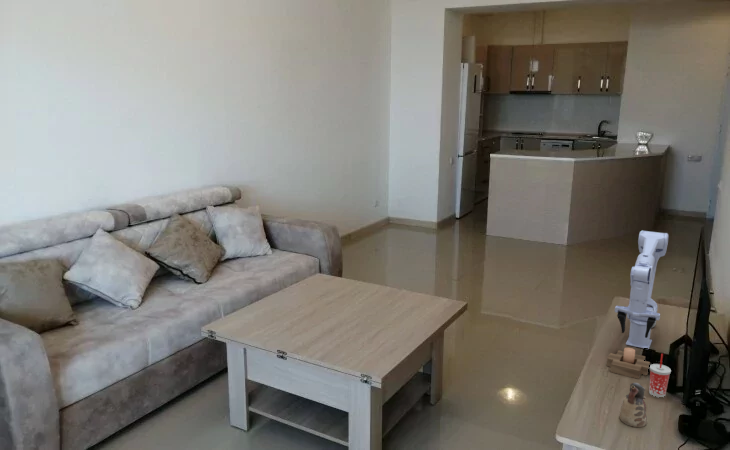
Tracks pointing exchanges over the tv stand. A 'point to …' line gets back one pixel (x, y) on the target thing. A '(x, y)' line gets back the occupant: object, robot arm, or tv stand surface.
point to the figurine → (634, 407)
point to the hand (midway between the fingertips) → (634, 334)
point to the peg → (629, 355)
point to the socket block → (627, 365)
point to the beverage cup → (659, 379)
